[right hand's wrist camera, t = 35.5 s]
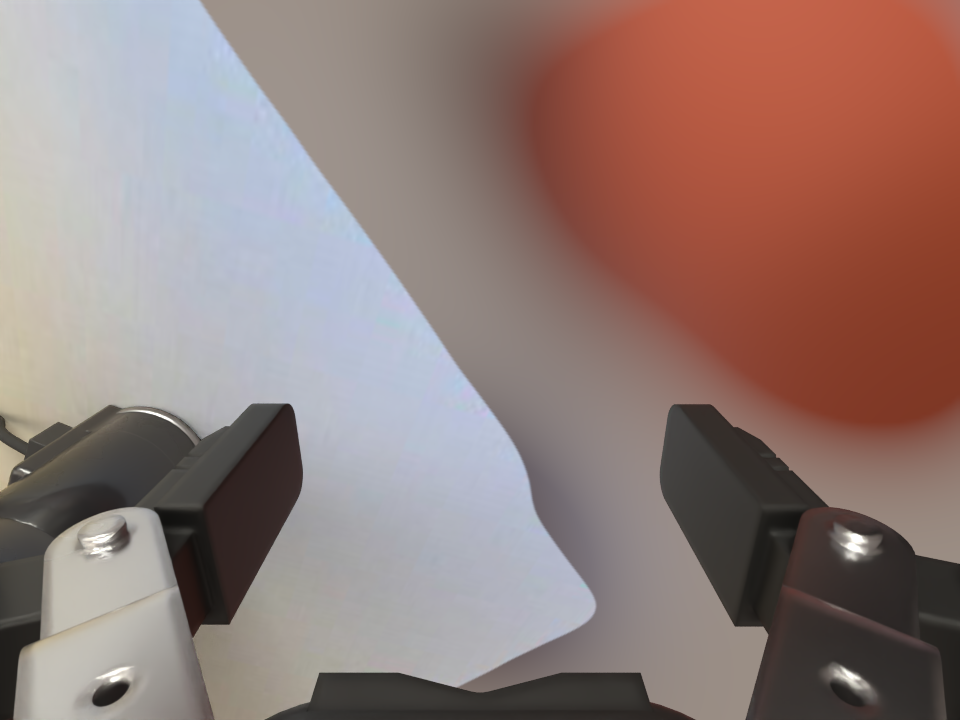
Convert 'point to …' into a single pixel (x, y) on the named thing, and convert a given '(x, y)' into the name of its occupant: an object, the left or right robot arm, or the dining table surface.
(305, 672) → the dining table surface
